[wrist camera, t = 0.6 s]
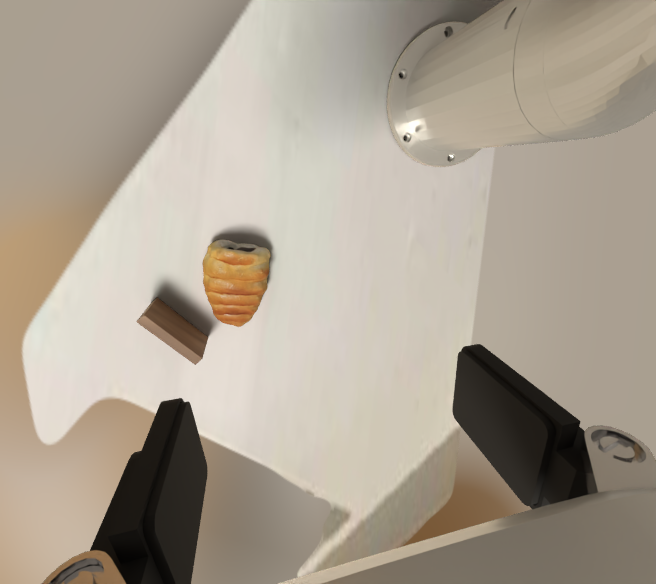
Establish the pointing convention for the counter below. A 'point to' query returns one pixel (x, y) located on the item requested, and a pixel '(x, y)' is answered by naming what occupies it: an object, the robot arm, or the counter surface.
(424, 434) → the counter surface
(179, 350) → the walnut block
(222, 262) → the pastry
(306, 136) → the counter surface
